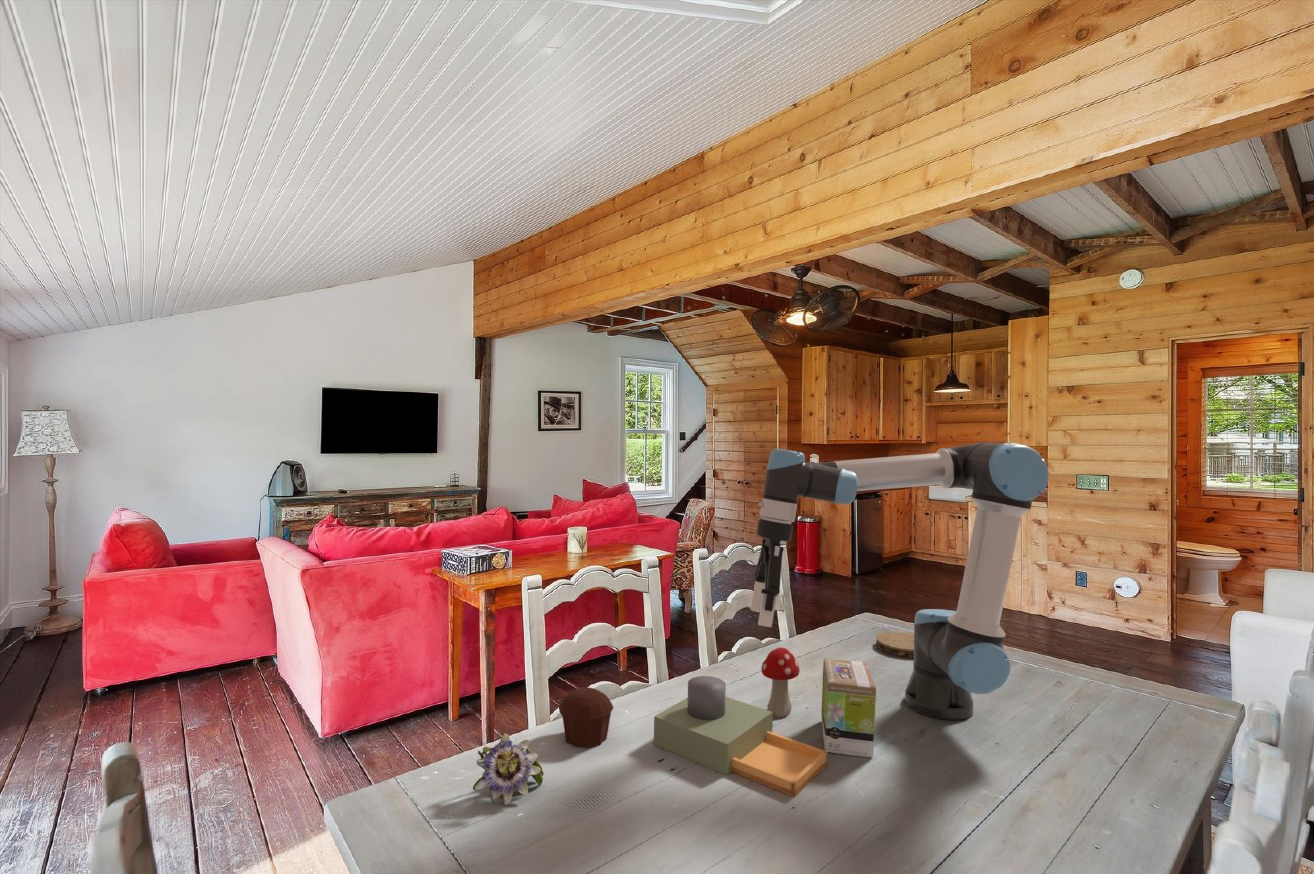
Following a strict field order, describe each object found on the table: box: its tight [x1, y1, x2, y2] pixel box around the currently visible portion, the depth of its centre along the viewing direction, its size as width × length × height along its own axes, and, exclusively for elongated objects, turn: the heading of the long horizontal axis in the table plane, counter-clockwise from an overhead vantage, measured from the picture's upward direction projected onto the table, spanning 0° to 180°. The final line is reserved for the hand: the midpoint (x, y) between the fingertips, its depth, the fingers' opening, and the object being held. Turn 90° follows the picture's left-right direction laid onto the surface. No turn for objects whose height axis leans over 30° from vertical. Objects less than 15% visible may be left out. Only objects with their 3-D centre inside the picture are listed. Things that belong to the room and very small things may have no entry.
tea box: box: [821, 657, 877, 758], centre depth 138 cm, size 15×10×15 cm, turn 168°
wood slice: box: [875, 631, 914, 660], centre depth 194 cm, size 16×16×3 cm
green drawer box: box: [653, 675, 829, 798], centre depth 131 cm, size 31×18×12 cm, turn 52°
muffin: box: [558, 687, 615, 749], centre depth 136 cm, size 12×11×10 cm
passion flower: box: [472, 732, 545, 807], centre depth 117 cm, size 11×11×12 cm
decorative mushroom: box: [760, 647, 800, 718], centre depth 150 cm, size 10×9×15 cm
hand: (760, 618), depth 138 cm, fingers open, 13 cm apart
